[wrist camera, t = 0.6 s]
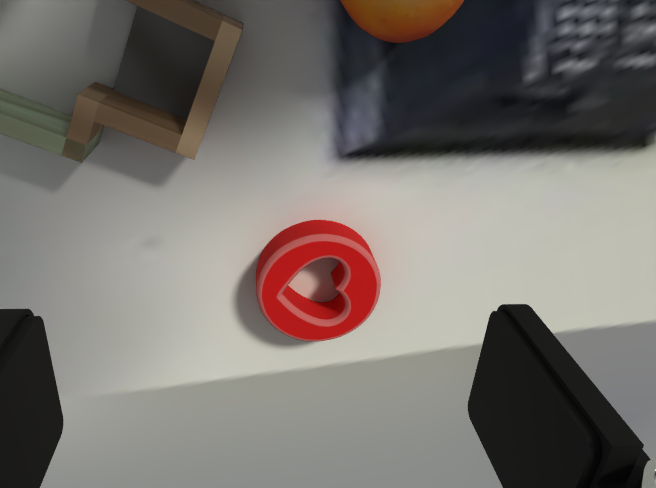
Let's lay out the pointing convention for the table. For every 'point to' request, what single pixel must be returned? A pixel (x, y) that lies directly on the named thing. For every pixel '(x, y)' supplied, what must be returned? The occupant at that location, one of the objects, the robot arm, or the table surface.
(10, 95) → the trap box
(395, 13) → the fruit
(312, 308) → the decorative ornament
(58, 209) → the table surface
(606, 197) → the table surface
